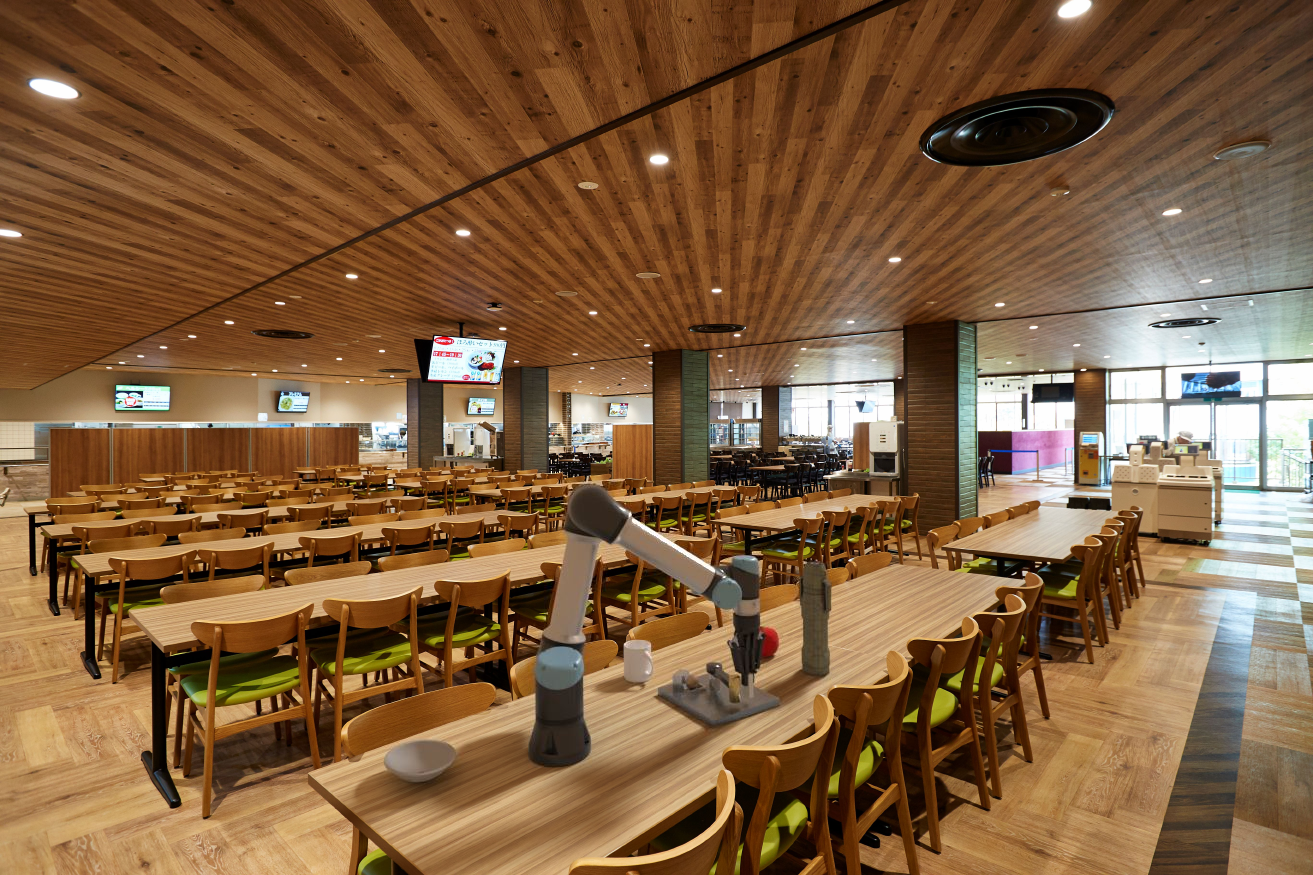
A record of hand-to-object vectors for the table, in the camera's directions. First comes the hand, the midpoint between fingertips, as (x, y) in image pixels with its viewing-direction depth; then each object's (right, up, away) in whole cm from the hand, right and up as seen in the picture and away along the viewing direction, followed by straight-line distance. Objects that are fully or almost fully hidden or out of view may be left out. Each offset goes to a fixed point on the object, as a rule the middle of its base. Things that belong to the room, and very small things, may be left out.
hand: (748, 695), depth 173 cm
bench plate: (-8, -4, +6) cm, 11 cm away
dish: (-79, -5, -34) cm, 86 cm away
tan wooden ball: (-15, -2, +10) cm, 18 cm away
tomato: (+11, -4, +43) cm, 44 cm away
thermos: (+26, -4, +27) cm, 38 cm away
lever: (-6, -1, +5) cm, 8 cm away
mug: (-31, -4, +22) cm, 38 cm away
